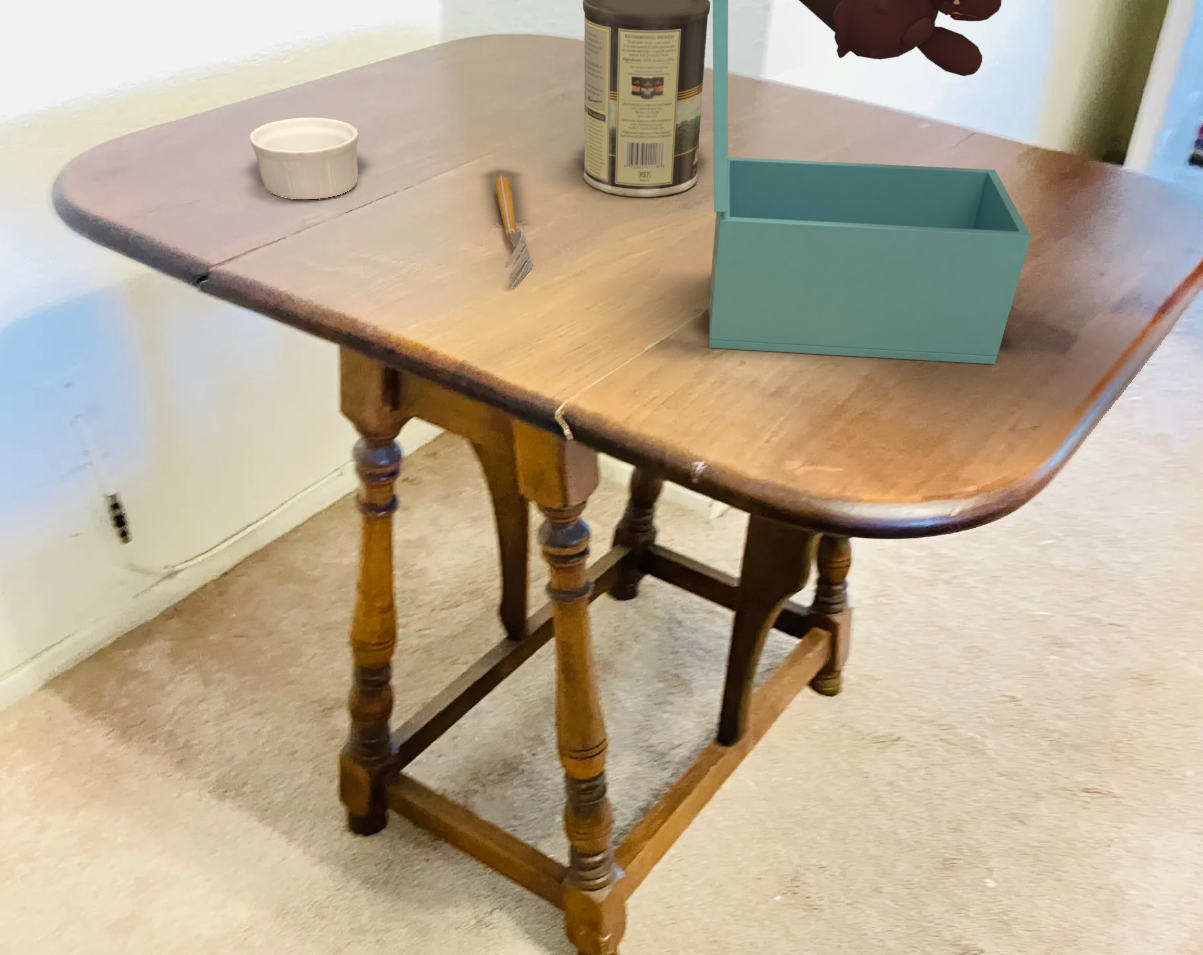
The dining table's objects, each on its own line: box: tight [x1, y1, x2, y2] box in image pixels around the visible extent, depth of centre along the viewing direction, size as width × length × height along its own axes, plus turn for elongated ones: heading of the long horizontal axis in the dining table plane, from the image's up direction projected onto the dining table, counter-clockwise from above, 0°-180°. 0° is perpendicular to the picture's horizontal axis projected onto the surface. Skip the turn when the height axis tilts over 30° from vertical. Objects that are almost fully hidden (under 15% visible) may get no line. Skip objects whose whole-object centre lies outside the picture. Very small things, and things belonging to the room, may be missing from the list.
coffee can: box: [582, 0, 711, 198], centre depth 91 cm, size 10×10×14 cm
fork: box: [494, 175, 533, 290], centre depth 85 cm, size 2×2×20 cm
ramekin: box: [249, 117, 359, 200], centre depth 92 cm, size 9×9×4 cm
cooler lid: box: [712, 0, 729, 213], centre depth 64 cm, size 19×12×1 cm
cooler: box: [708, 156, 1032, 365], centre depth 72 cm, size 19×12×9 cm, turn 85°
